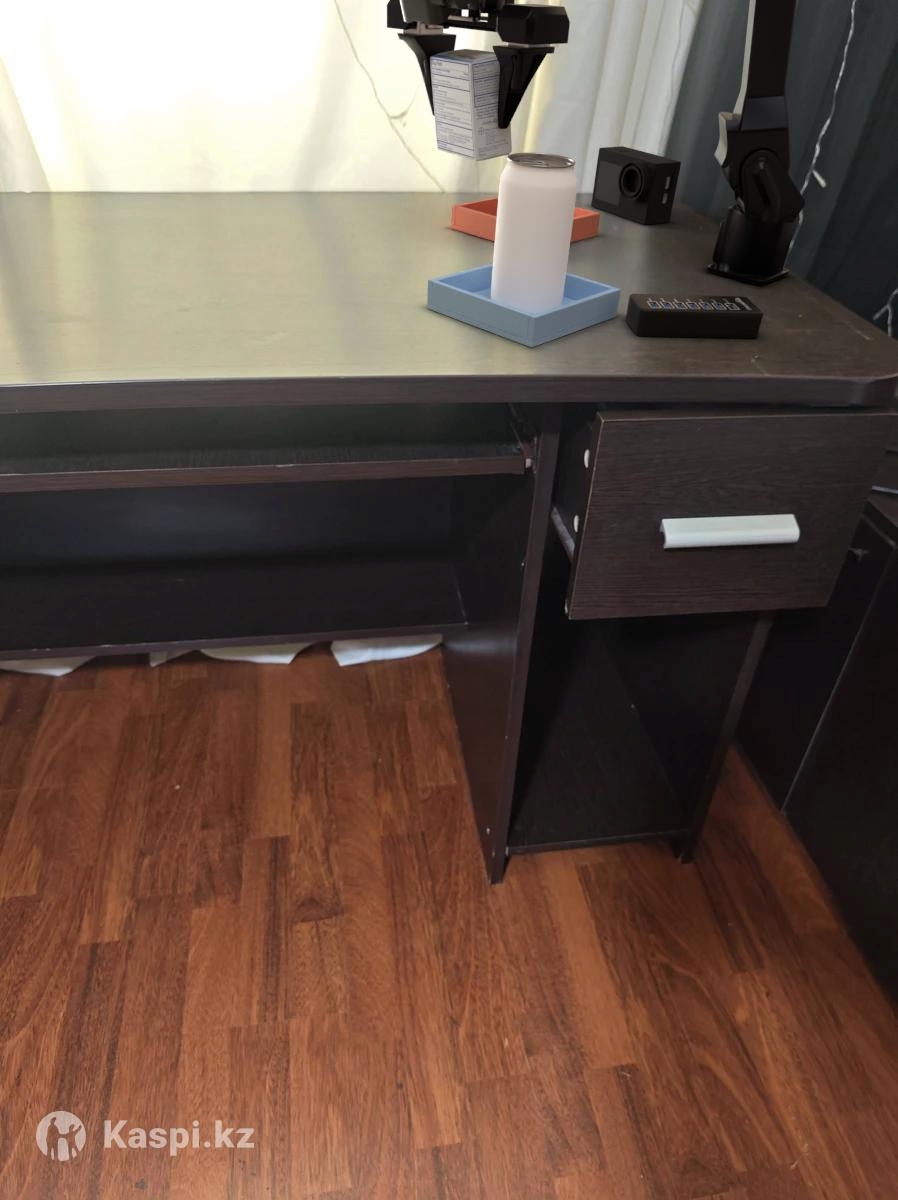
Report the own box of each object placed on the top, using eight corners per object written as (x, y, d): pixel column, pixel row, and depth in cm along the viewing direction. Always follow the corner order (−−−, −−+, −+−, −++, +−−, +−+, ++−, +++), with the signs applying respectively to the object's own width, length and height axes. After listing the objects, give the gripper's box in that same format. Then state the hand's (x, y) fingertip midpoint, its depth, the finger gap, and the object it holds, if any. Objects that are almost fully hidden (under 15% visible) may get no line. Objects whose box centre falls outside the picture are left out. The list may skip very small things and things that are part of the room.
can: (557, 322, 74) (577, 170, 67) (484, 313, 75) (495, 162, 67) (564, 299, 79) (583, 155, 72) (495, 291, 80) (507, 148, 73)
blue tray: (616, 316, 77) (621, 288, 76) (531, 347, 70) (535, 317, 69) (514, 283, 84) (516, 256, 82) (426, 308, 77) (427, 279, 75)
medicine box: (513, 154, 86) (510, 53, 80) (475, 163, 84) (470, 60, 79) (471, 143, 91) (466, 47, 86) (435, 151, 90) (428, 54, 84)
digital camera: (582, 207, 111) (591, 147, 107) (613, 203, 114) (623, 145, 110) (638, 226, 105) (649, 163, 100) (669, 222, 107) (681, 160, 103)
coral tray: (597, 235, 100) (600, 213, 99) (531, 252, 93) (534, 228, 91) (518, 214, 106) (520, 192, 105) (450, 228, 99) (451, 205, 98)
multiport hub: (624, 318, 77) (628, 292, 76) (740, 321, 78) (747, 295, 77) (636, 336, 74) (642, 309, 72) (758, 338, 75) (765, 312, 73)
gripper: (342, -83, 76) (347, 115, 86) (499, -79, 67) (485, 144, 76) (428, -76, 83) (424, 107, 93) (583, -71, 73) (561, 133, 83)
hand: (469, 122), depth 86 cm, fingers closed on medicine box, 8 cm apart
